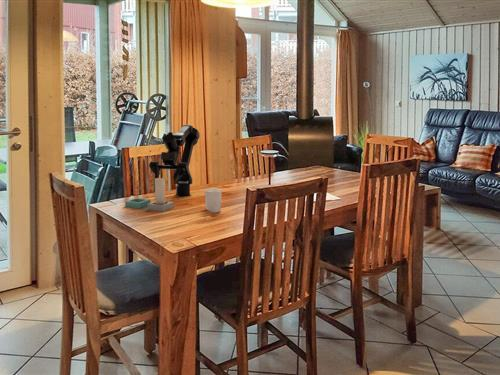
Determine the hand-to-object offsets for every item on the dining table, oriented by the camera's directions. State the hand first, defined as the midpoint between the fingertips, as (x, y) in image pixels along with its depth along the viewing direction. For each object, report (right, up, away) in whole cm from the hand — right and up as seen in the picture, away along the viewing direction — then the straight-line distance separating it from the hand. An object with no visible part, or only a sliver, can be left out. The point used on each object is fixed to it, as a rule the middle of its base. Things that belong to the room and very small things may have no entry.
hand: (165, 181), depth 247 cm
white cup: (+23, -14, -4) cm, 27 cm away
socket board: (-7, -13, -2) cm, 15 cm away
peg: (-1, -12, -4) cm, 13 cm away
